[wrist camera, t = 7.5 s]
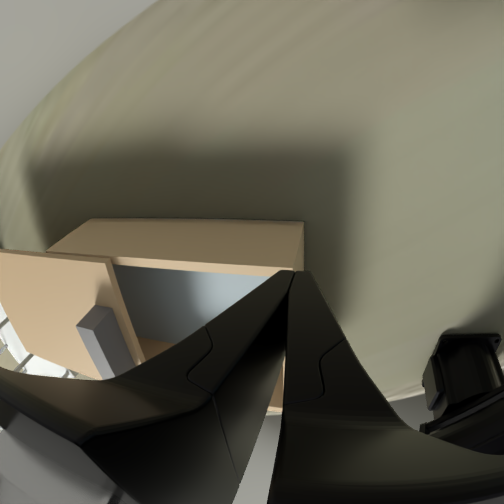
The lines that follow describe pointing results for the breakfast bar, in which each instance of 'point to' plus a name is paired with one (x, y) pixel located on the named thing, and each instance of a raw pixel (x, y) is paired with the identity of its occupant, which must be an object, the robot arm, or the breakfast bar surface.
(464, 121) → the breakfast bar surface
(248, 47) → the breakfast bar surface
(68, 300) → the lid
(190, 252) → the box
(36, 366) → the file sorter
